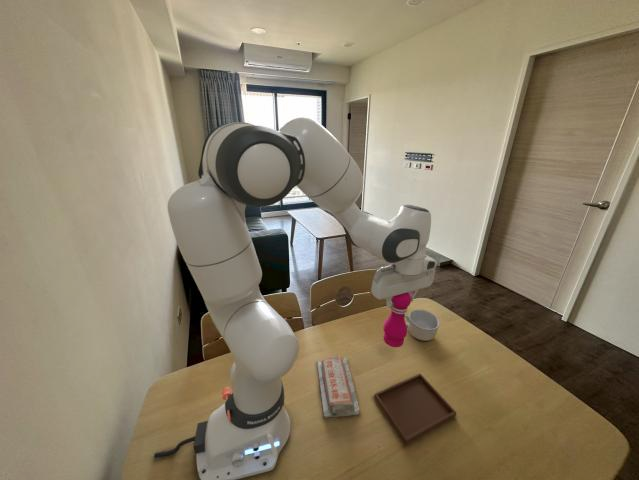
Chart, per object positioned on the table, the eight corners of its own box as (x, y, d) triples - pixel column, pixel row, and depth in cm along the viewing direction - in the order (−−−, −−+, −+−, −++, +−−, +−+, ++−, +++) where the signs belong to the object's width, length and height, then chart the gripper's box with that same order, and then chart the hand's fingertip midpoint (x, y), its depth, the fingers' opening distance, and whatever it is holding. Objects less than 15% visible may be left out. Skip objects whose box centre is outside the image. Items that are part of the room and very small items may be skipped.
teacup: (437, 331, 98) (441, 315, 95) (433, 350, 90) (437, 332, 87) (402, 318, 105) (404, 303, 102) (394, 334, 96) (397, 317, 93)
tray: (405, 445, 62) (406, 441, 61) (373, 398, 73) (374, 393, 72) (455, 417, 68) (456, 412, 67) (419, 377, 79) (420, 373, 78)
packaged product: (361, 403, 66) (324, 407, 65) (360, 415, 68) (324, 419, 67) (347, 350, 83) (317, 352, 82) (346, 361, 85) (317, 363, 84)
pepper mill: (402, 333, 84) (412, 281, 76) (407, 350, 77) (418, 294, 70) (380, 331, 84) (387, 279, 77) (383, 347, 78) (391, 292, 70)
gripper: (383, 274, 64) (377, 318, 69) (442, 261, 71) (432, 301, 77) (369, 263, 69) (364, 305, 74) (425, 252, 77) (417, 291, 82)
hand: (399, 303), depth 75 cm, fingers closed on pepper mill, 6 cm apart
